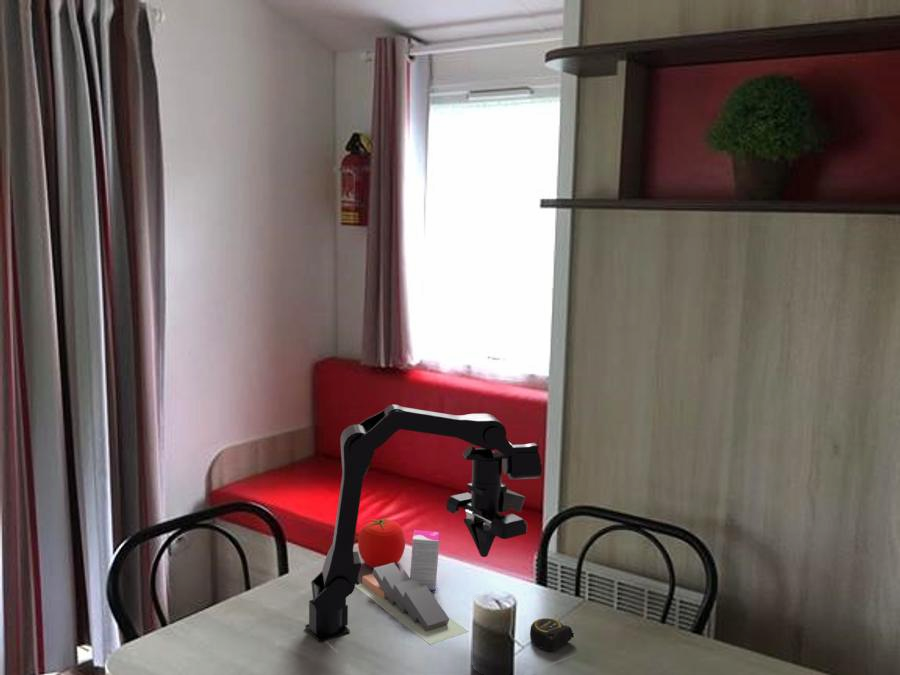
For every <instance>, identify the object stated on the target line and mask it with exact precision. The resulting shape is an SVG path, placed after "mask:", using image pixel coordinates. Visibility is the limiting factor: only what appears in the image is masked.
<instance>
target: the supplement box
mask: <svg viewBox="0 0 900 675" xmlns="http://www.w3.org/2000/svg"><path fill="white" fill-rule="evenodd" d="M411 543H412V545H411V558H410V559H411V560H410V561H411V562H410V569H409V570H410V573H409V578H410V579H415V578H416V580H417V581H418V583H419V584H420V586H421V587H422V586H427V587H428V589H429V590H430V592H431V593H435V592H436V590H437V589H436V587H437V576H438V575H437V574H438V564H439V548H440V531H429V530H428V531H427V530H421V529H420V530H418V529H414V530H413V534H412V542H411Z"/></svg>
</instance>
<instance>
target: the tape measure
mask: <svg viewBox="0 0 900 675" xmlns="http://www.w3.org/2000/svg"><path fill="white" fill-rule="evenodd" d="M529 633H530V634H529V637H530V642H531V643H532V644H533V645H534V646H535V647H537V648H540V649H544V650H547V651H548V652H553V651H555V650H557V649H558V648H559V647H561V646H563V645H564V644H565V643H568V642H570V641H571V640H572V638H574V635H575V633H574V632H573V629H572V628H571V626H569V625H565V624H563V623H562V622H560V621H559V620H557V619H553V618H550V617H549V618H545V617H543V618H539V619H535V621H533V622H532V624H531V625H530V631H529Z"/></svg>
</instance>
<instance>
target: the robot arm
mask: <svg viewBox="0 0 900 675" xmlns="http://www.w3.org/2000/svg"><path fill="white" fill-rule="evenodd" d="M399 430H403V431H409V432H416V433H422V434H430V435H437V436H444V437H450V438H456V439H459V440H461V441H465V442H467V443H469V444H470V445H469V446H468V448H466V449H464V451H462V453H461V455H462V456H463V457H464V458H465V459H466V460H467V461H472V465H471V466H472V468H471V469H472V472H471V475H472V476H471V482H470V483H467V484H466V486H467V487H466V489H467V490H469V491H470V492H471V493H470V492H463V493H460V494H459V493H458V494H454V495H450V496H449V498H448V499H447V500H446V511H448V512H450V513H451V514H454V515H455V514H457V513H458V512H459V510H460V509H463V510H464V512H465V513H466V518H463V520H462V521H463V524H465V525H466V528H467V529H468V532H469V534H470V535H471V538H472V540H473V543H474V544H475V546H476V549H477V551H478V553H479V556H480V557H482V558H486V557H488V555H489V553H490V550H491V549H492V546H493V543H494V541H495V538H496V537H498V538H500V539H502V540H508V539H511V538H512V539H513V538H515V537H518V536H523V535H526V534H527V533H528V530H527V529H528V522H527V521H526V520H525V519H524V518H522V517H521V516H518V515H516V514H514V513H510V514H509V513H508V514H505V515H504V514H502V513H507V512H508V510H512V511H516V512H518V513H521V512H522V508H523V505H524V502H525V500H526V496H524V495H522V494H520V493H517V492H515V491H512V490H510V489H508V486H507V484H506V483H503V482H502V475H503V474H504V475H507V477H508V479H509V480H529V479H530V480H531V479H540V478H541V475H542V470H543V469H542V468H543V464H542V463H541V456H540V455H541V454H540V452H539V446H538V445H537V443H535V442H531V443H526V444H512V443H511V442H510V441H509V440H508V438H507V430H506V428H505V425H504V424H503V423H502V422H501V421H499V419H497V418H496V417H495V416H494V415H492V414H489V413H468V414H463V415H455V414H449V413H441V412H435V411H431V410H424V409H423V410H422V409H419V408H418V409H417V408H413V407H412V408H411V407H405V406H401V405H399V404H390V405H387V407H386V408H384V409H383V410H381V411H379V412H377V413H376V414H374V415H371V416H370V417H367V418H365V419H364V420H362V421H361V422H360V423H358V424H352V425H349V426H347V427H346V428H345V429H343V431H342V432H341V435H340V454H341V455H340V457H341V459H340V460H341V469H342V474H341V480H340V481H341V482H340V489H339V496H338V503H337V510H336V511H337V512H336V517H335V518H336V519H335V526H334V530H333V538H332V539H333V540H332V542H331V543H332V544H331V546H330V548H329V549H328V552H327V554H326V557H325V559H324V563H323V566H322V570H321V571H320V573H319V574H318V575H317V576H316V577H315V578H313V579H312V580H311V582H310V583H311V584H310V585H311V594H312V595H311V596H312V599H310V600H309V601H308V608H309V609H308V624H307V623H306V624H304V625H305V626H304V628H305V630H307V632H308V633H309V634H310V635H312V636H313V637H314V638H315V640H317V641H318V642H324V641H327V640H328V641H329V640H331V639H334V638H337V637H340V636H344V635H347V634H350V632H351V631H350V628H348V627H347V626H348V624H349V605H348V604H347V597H349V596H350V595H352V594H353V592H354V591H355V585H359V584H360V583H359V573H360V571H361V567H362V563H361V556H360V553H359V550H358V551H354V546H355V539H356V534H357V533H356V532H357V527H358V526H357V524H358V519H359V511H360V504H361V497H362V489H363V482H364V478H365V476H366V475H367V472H368V470H369V468H370V466H371V463H372V460H373V456H374V454H375V451H376V450H377V449H379V448H380V447H381V446H383V445H384V444H385V443H387V441H388V440H389V439H390V438H392V436H393V435H394V434H396V432H398V431H399ZM475 446H476V447H479V448H476V447H475ZM495 450H497V451H495ZM502 472H503V474H502Z"/></svg>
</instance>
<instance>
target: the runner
mask: <svg viewBox="0 0 900 675" xmlns="http://www.w3.org/2000/svg"><path fill="white" fill-rule="evenodd" d="M355 587H356V589H358V590H359V591H360V592H362V593H363V594H364V595H366V597H368V598H369V599H371V600H372V601H373V602H374V603H376V604H377V605H378V606H380V607H381V608H382V609H383V610H385V611H386V612H387V613H388V614H390V615H391V616H393V617H394V618H395V619H396V620H397V621H399V622H400V623H402V624H403V625H404V626H405V627H406V628H408V629H409V630H411V631H412V632H413V633H414V634H415V635H417V636H418V637H419V638H421V639H422V640H423V641H424V642H426V643H427V644H428V645H429V646H431V645H433V644H436V643H439V642H442V641H445V640H448V639H450V638H454V637H456V636H460V635H462V634H466V633H469V630H468V629H466V628H465V627H464V626H462V625H461V624H460V623H457V622H456V621H455V620H453V619H452V618H451V617H449V622H448V624H447V625H445V626H442V627H439V628H436V629H433V630H429V631H425V629H424V628H423V626H422V625H421V623H420V622H417V623H414V621H413V620H412V618H411V617H410V615H409V614H408V613H405V614H403V613H402V612H401V610H400V609H399V607H398V605H397V604H395V605H392V604H391V603H390V601H389V600H388V599H382V598H381V597H380V596H378V595H377V594H376V593H375V592H373V591H372V590H371V589H369V588H368V587H367V586H365V585H364V584H363V583H359V585H357V584H355Z"/></svg>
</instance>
